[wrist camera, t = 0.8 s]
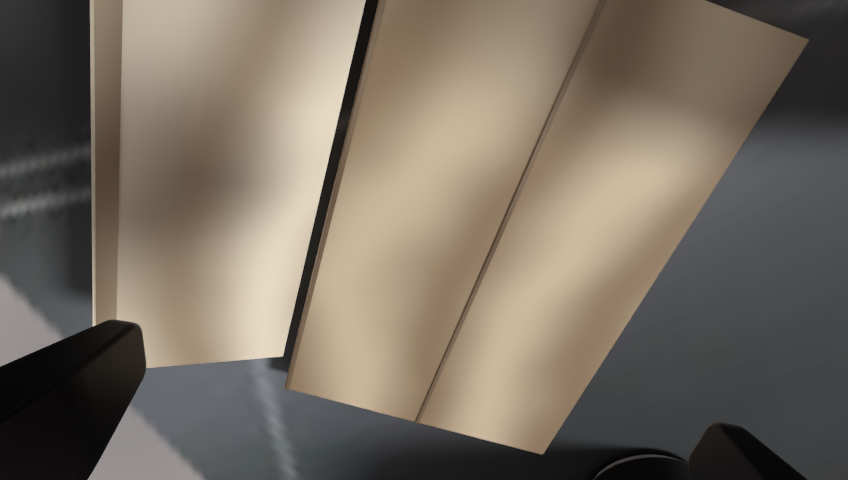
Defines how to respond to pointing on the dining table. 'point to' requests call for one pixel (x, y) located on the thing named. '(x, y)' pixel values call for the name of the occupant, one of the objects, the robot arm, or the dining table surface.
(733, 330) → the dining table surface
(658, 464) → the beverage can
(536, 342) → the laid floor
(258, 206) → the plank
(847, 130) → the dining table surface
